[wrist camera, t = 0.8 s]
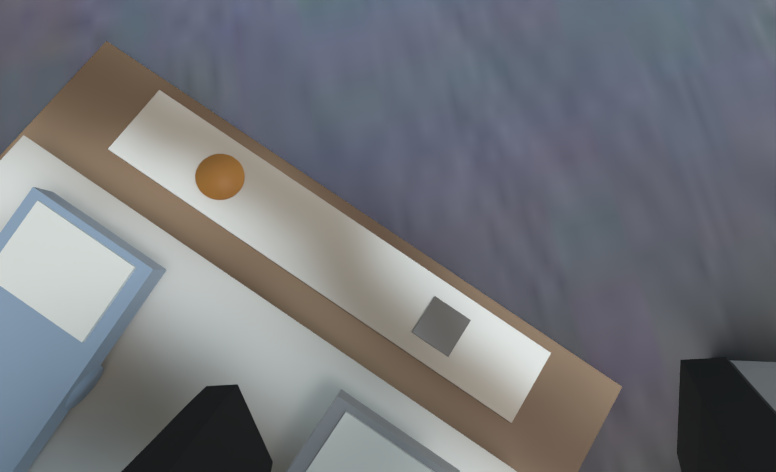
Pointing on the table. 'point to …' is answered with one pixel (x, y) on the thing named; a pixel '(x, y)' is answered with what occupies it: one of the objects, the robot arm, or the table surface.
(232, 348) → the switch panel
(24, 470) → the blue rectangular block
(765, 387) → the electrical switch
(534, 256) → the table surface
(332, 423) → the grey flat block
